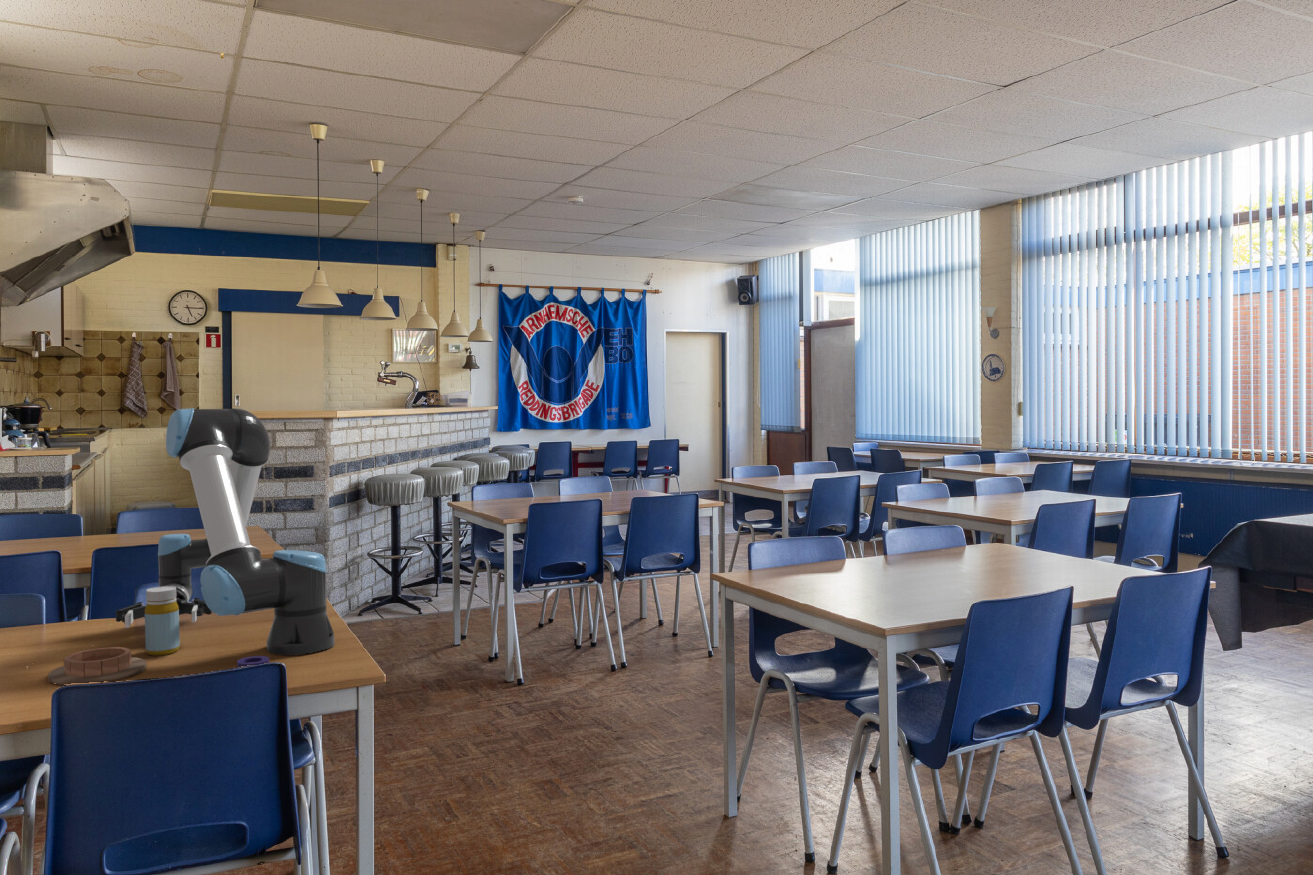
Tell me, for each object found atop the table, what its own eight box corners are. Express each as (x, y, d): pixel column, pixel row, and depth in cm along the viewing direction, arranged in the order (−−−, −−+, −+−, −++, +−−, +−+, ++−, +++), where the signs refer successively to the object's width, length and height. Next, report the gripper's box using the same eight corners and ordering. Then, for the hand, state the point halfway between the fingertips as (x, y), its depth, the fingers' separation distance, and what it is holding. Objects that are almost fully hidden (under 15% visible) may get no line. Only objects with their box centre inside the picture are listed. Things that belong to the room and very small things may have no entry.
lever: (252, 669, 197) (252, 654, 197) (275, 671, 195) (275, 657, 195) (209, 684, 185) (209, 669, 185) (233, 687, 183) (232, 672, 183)
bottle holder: (161, 670, 195) (160, 652, 194) (68, 691, 180) (67, 671, 180) (125, 656, 205) (124, 639, 205) (34, 675, 191) (34, 656, 191)
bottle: (158, 647, 213) (156, 585, 212) (186, 648, 212) (184, 586, 212) (138, 656, 206) (137, 591, 205) (167, 656, 205) (165, 592, 205)
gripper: (225, 611, 231) (220, 630, 211) (114, 620, 221) (98, 640, 201) (225, 582, 230) (220, 598, 211) (113, 590, 221) (97, 607, 201)
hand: (160, 619), depth 206 cm, fingers open, 13 cm apart
